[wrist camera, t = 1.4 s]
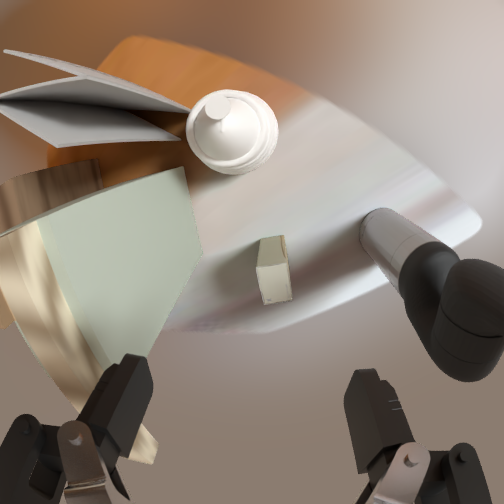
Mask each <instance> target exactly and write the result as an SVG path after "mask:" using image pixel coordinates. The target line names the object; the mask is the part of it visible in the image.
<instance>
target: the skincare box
mask: <svg viewBox="0 0 504 504" xmlns="http://www.w3.org/2000/svg"><path fill="white" fill-rule="evenodd" d="M256 273H257V278H258V283H259V287H260V291H261V295H262V299H263V303H264V305H269V304H276V303H282V302H288V301H292V300H293V297H292V289H291V281H290V271H289V263H288V256H287V250H286V244H285V239H284V235H281V236H274V237H268V238H262V239H260V245H259V251H258V258H257V264H256Z"/></svg>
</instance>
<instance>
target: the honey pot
mask: <svg viewBox="0 0 504 504" xmlns="http://www.w3.org/2000/svg"><path fill="white" fill-rule="evenodd" d="M186 136H187V141H188V143H189V146H190V148H191V149H192V151H193V152H194V153H195V155H196V156H197V157H198V158H200V160H201V161H202V162H203V163H204V164H206V165H207V166H208V167H210V168H211V169H213V170H215V171H218V172H220V173H224V174H231V175H236V174H245V173H247V172H250V171H253V170H255V169H257V168H258V167H260V166H261V165H262V164H264V163H265V162H266V161H267V159H268V158H269V157H270V156H271V155H272V153H273V151H274V149H275V147H276V145H277V139H278V123H277V120H276V118H275V115H274V113H273V111H272V110H271V108H270V107H269V106H268V104H267V103H266V102H264V101H263V100H262V99H260V98H259V97H258V96H256V95H253V94H250V93H248V92H243V91H236V90H220V91H215V92H213V93H210V94H208V95H206V96H204V97H203V98H202V99H201V100H199V101H198V102H197V103H196V104H195V106H194V107H193V108H192V110H191V112H190V114H189V116H188V118H187V123H186Z"/></svg>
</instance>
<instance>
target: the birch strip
mask: <svg viewBox="0 0 504 504" xmlns="http://www.w3.org/2000/svg"><path fill="white" fill-rule="evenodd" d="M0 287H1V289H2V291H3V294H4V296H5V298H6V300H7V302H8V305H9V307H10V309H11V311H12V313H13V315H14V317H15V319H16V321H17V323H18V324H19V326H20V328H21V330H22V332H23V334H24V335H25V337H26V339H27V341H28V342H29V344H30V346H31V347H32V349H33V351H34V352H35V354H36V355H37V357H38V358H39V360H40V362H41V363H42V365H43V366H44V368H45V369H46V371H47V372H48V373H49V375H50V376H51V378H52V379H53V380H54V382H55V383H56V385H57V386H58V387H59V389H60V390H61V391H62V392H63V394H64V395H65V396H66V397H67V399H68V400H69V401H70V403H71V404H72V405H73V406H74V407H75V409H76V410H77V411H78V412H79V413H81V411H82V409H83V407H84V405H85V404H86V402H87V400H88V398H89V396H90V395H91V393H92V391H93V390H94V389H95V386H96V384H97V383H98V382H99V379H100V378H101V376H102V374H103V372H104V370H103V369H102V367H101V366H100V364H99V362H98V361H97V359H96V357H95V356H94V354H93V352H92V350H91V349H90V347H89V345H88V343H87V342H86V340H85V338H84V336H83V334H82V332H81V331H80V329H79V327H78V325H77V323H76V321H75V319H74V317H73V315H72V313H71V311H70V309H69V306H68V304H67V302H66V300H65V298H64V296H63V293H62V291H61V289H60V286H59V284H58V282H57V279H56V277H55V274H54V272H53V269H52V266H51V264H50V261H49V258H48V256H47V253H46V250H45V247H44V244H43V241H42V238H41V235H40V231H39V228H38V225H37V221H34V222H31V223H28V224H26V225H24V226H21V227H19V228H16V229H14V230H12V231H10V232H8V233H6V234H4V235H2V236H0ZM158 446H159V444H158V442H157V441H156V440H155V439H154V438H153V437H152V436H151V434H150V433H149V432H148V431H147V430H146V428H145V427H144V426H143V425H142V424H141V425H140V428H139V430H138V433H137V436H136V438H135V441H134V444H133V447H132V449H131V452H130V455H129V458H126V459H130V460H134V461H138V462H143V463H147V464H153V462H154V458H155V455H156V452H157V449H158ZM123 458H125V457H123Z"/></svg>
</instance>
